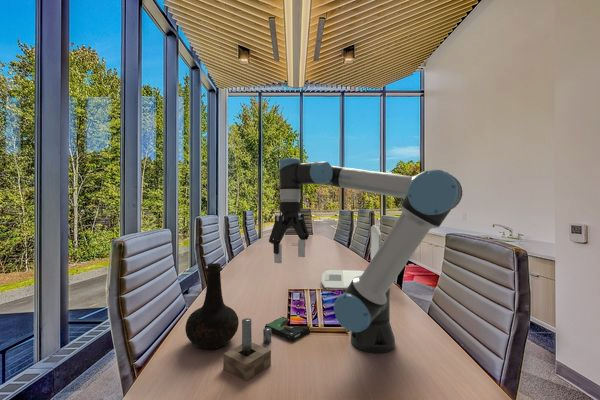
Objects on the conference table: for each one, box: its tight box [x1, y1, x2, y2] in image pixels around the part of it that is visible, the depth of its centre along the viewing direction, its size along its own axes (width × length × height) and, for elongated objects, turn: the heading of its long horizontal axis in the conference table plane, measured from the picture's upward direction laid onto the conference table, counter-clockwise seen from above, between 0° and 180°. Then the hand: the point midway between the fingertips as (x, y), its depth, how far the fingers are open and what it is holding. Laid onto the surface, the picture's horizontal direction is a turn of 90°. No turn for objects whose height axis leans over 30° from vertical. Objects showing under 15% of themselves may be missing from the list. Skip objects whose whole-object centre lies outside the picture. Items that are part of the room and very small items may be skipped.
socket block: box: [222, 342, 272, 382], centre depth 89 cm, size 10×10×4 cm
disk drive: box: [264, 316, 311, 343], centre depth 114 cm, size 10×3×15 cm
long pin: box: [241, 317, 253, 357], centre depth 90 cm, size 3×3×14 cm
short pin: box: [262, 327, 272, 345], centre depth 105 cm, size 3×3×4 cm
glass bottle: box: [184, 262, 240, 350], centre depth 104 cm, size 18×18×28 cm
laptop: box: [320, 224, 382, 292], centre depth 181 cm, size 42×33×35 cm
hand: (290, 259), depth 107 cm, fingers open, 13 cm apart
